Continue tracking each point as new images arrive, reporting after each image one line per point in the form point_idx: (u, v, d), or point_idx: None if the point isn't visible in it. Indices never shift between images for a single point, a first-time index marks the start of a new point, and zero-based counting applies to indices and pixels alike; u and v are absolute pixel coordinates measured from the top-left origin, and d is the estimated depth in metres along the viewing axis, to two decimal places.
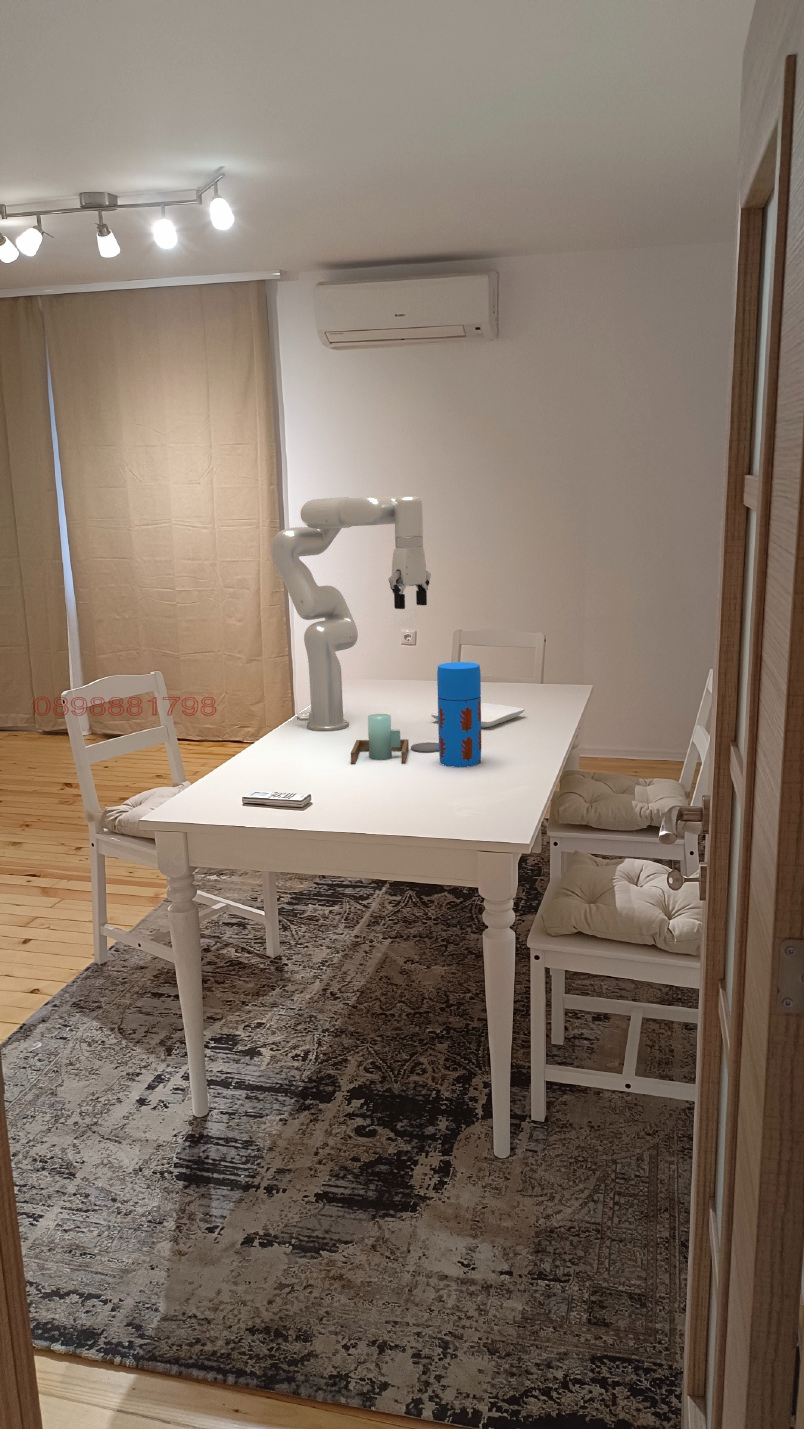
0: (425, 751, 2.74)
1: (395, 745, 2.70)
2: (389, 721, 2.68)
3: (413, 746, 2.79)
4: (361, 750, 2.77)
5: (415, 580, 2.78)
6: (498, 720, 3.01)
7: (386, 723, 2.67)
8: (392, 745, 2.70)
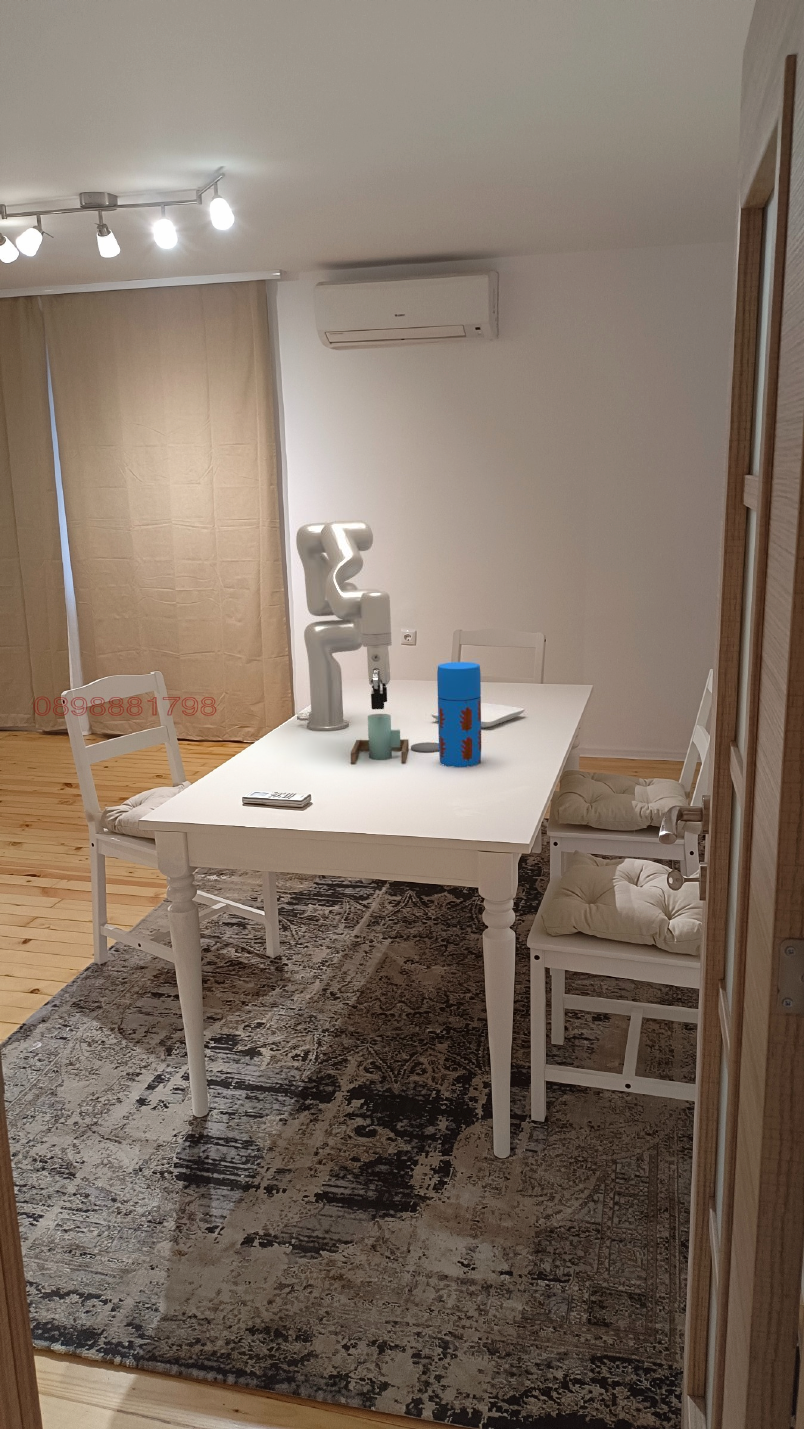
0: (425, 751, 2.74)
1: (395, 745, 2.70)
2: (389, 721, 2.68)
3: (413, 746, 2.79)
4: (361, 750, 2.77)
5: None
6: (498, 720, 3.01)
7: (386, 723, 2.67)
8: (392, 745, 2.70)
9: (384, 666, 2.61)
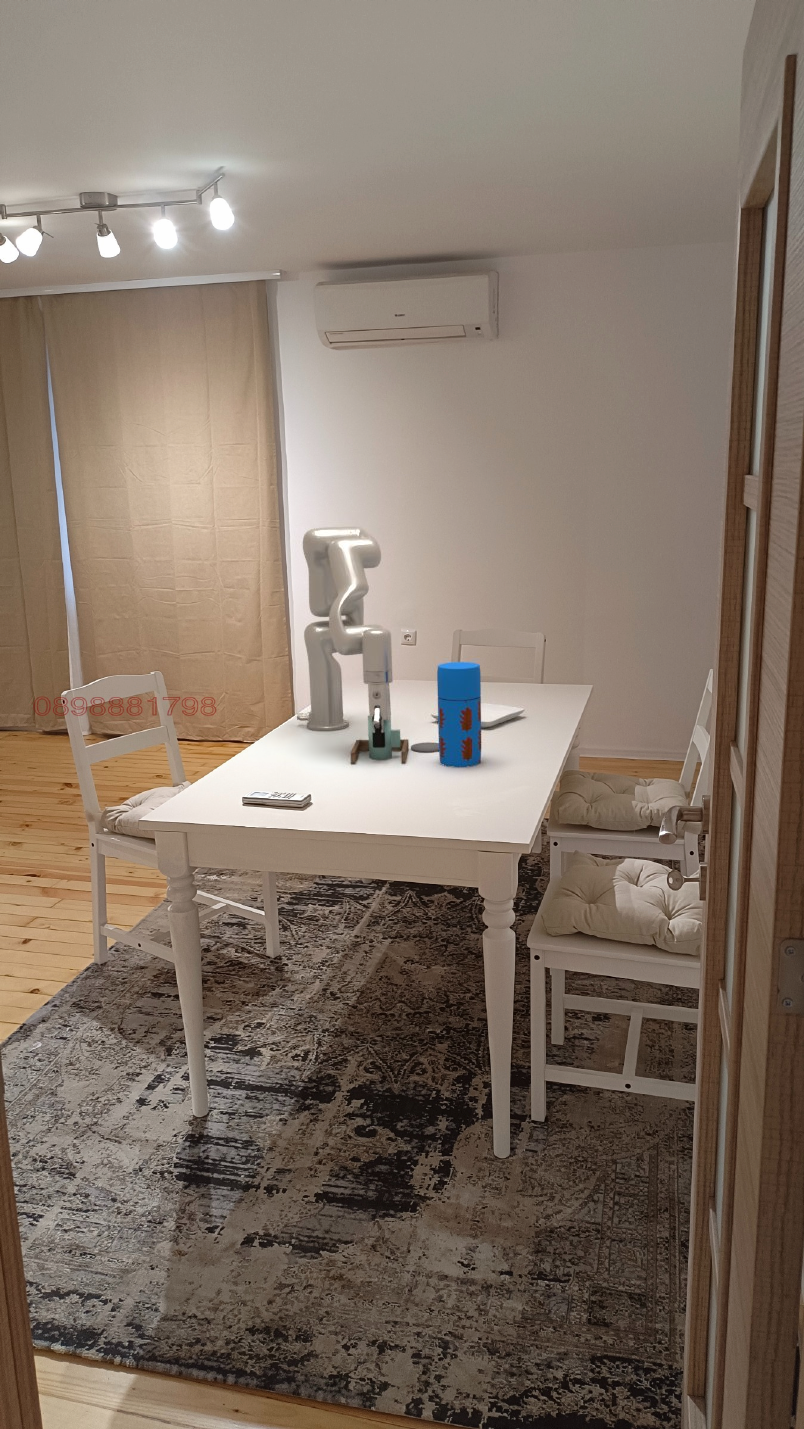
0: (425, 751, 2.74)
1: (395, 745, 2.70)
2: (389, 721, 2.68)
3: (413, 746, 2.79)
4: (361, 750, 2.77)
5: None
6: (498, 720, 3.01)
7: (386, 723, 2.67)
8: (392, 745, 2.70)
9: (385, 703, 2.63)
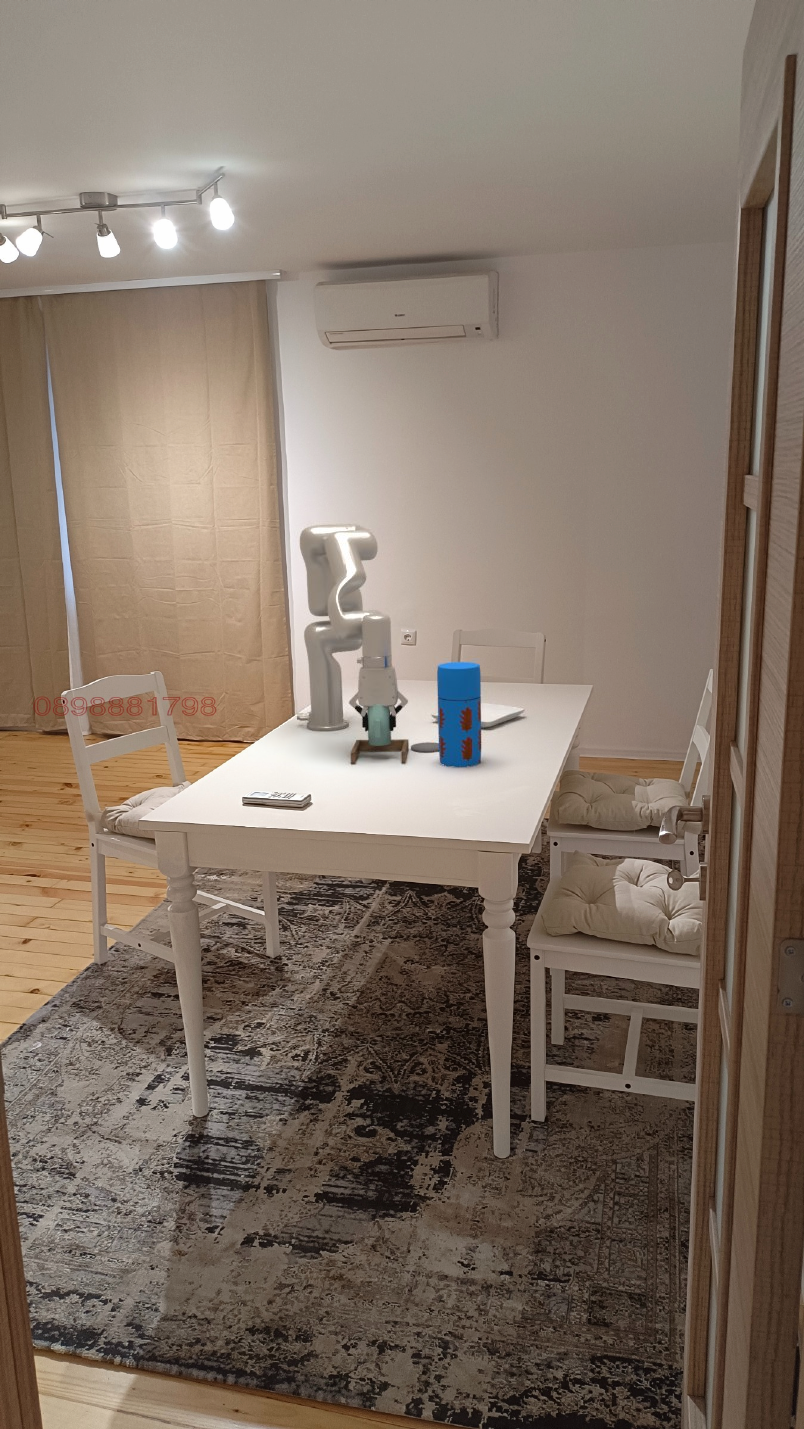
0: (425, 751, 2.74)
1: None
2: (373, 708, 2.66)
3: (413, 746, 2.79)
4: (361, 750, 2.77)
5: None
6: (498, 720, 3.01)
7: (369, 709, 2.67)
8: None
9: (358, 687, 2.66)
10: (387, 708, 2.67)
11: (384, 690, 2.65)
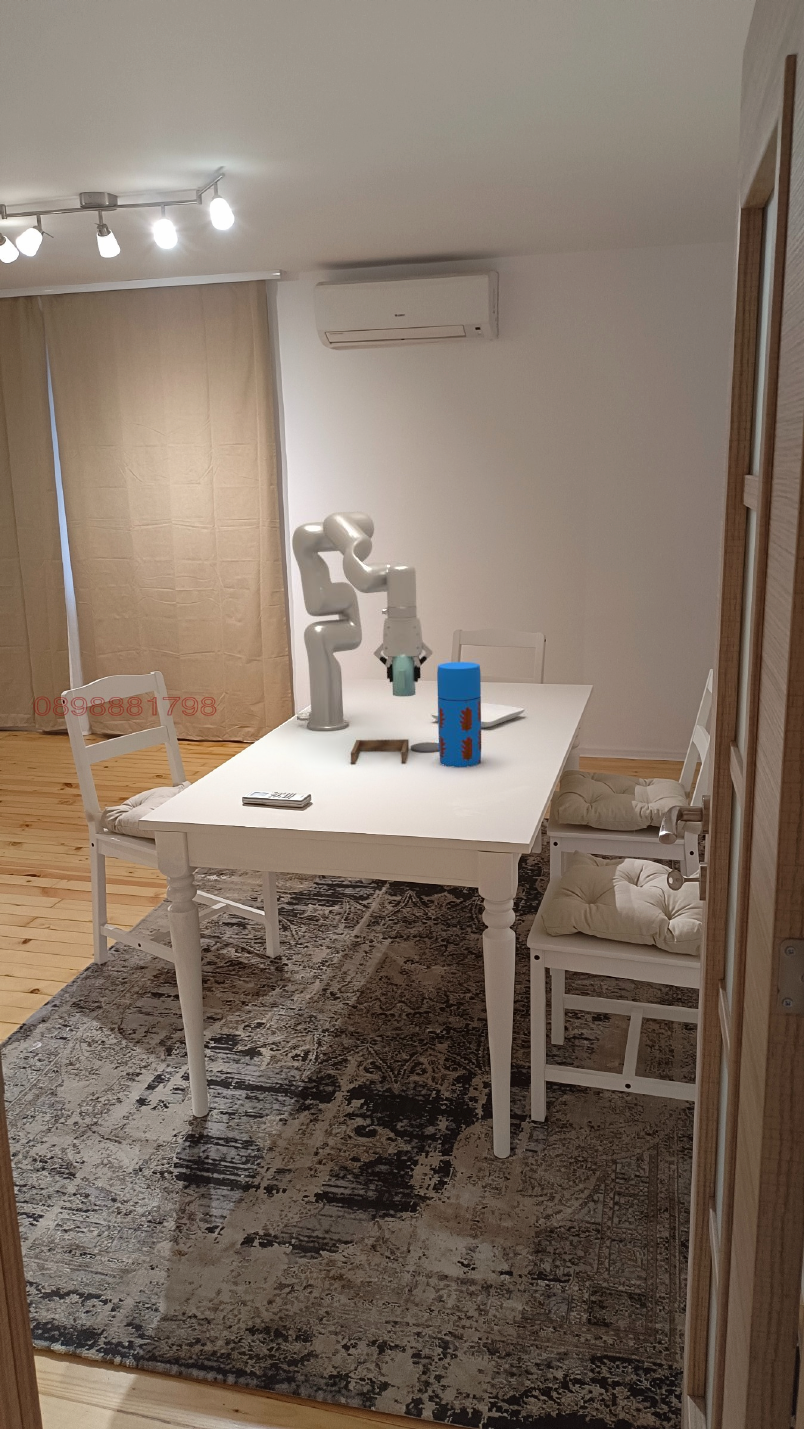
0: (425, 751, 2.74)
1: None
2: (397, 659, 2.67)
3: (413, 746, 2.79)
4: (361, 750, 2.77)
5: None
6: (498, 720, 3.01)
7: (394, 660, 2.68)
8: None
9: (383, 638, 2.67)
10: (411, 659, 2.68)
11: (409, 640, 2.66)
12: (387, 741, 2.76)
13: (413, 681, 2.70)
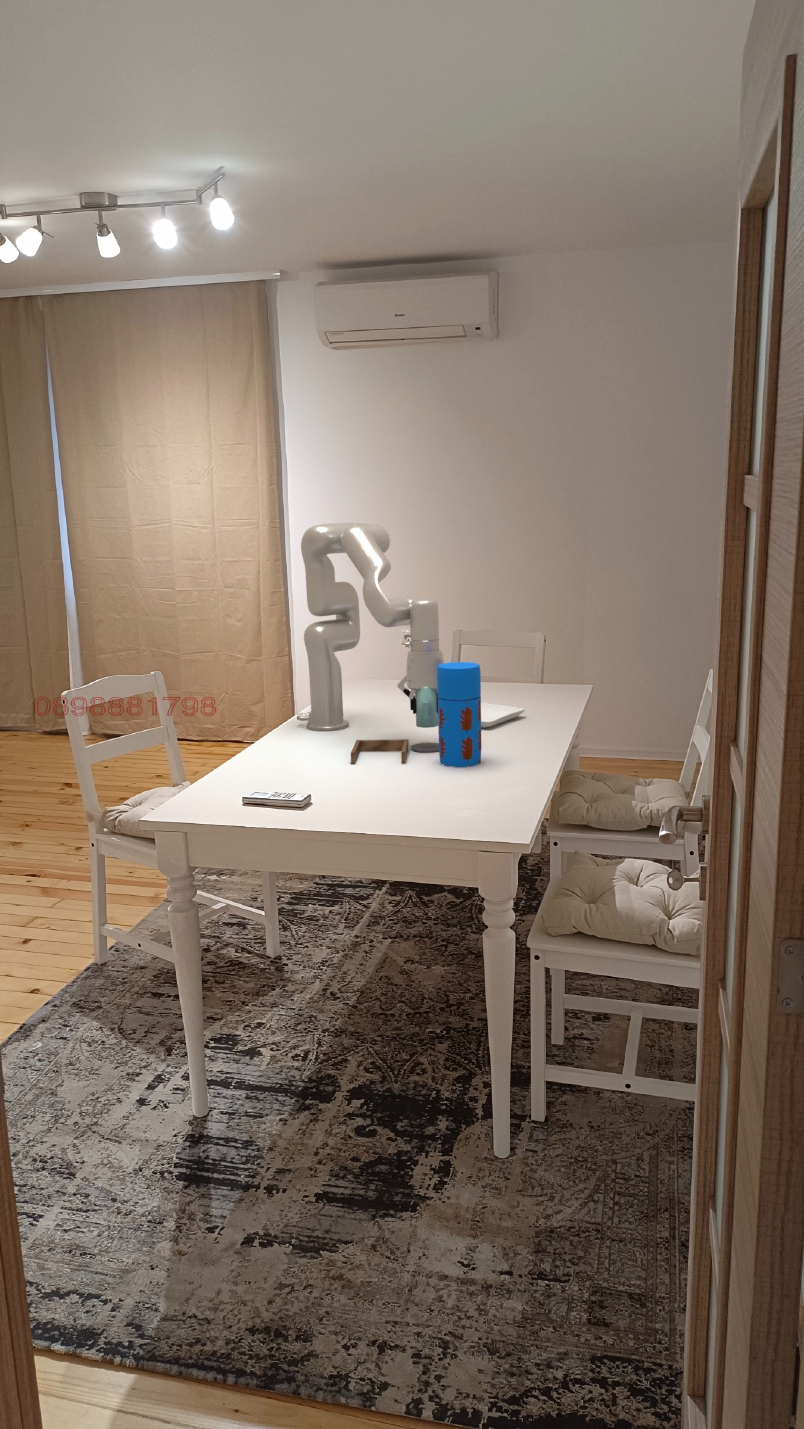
0: (425, 751, 2.74)
1: None
2: (421, 691, 2.73)
3: (413, 746, 2.79)
4: (361, 750, 2.77)
5: None
6: (498, 720, 3.01)
7: (417, 692, 2.73)
8: (423, 715, 2.73)
9: (407, 670, 2.72)
10: (435, 691, 2.73)
11: (432, 673, 2.71)
12: (387, 741, 2.76)
13: (436, 712, 2.75)
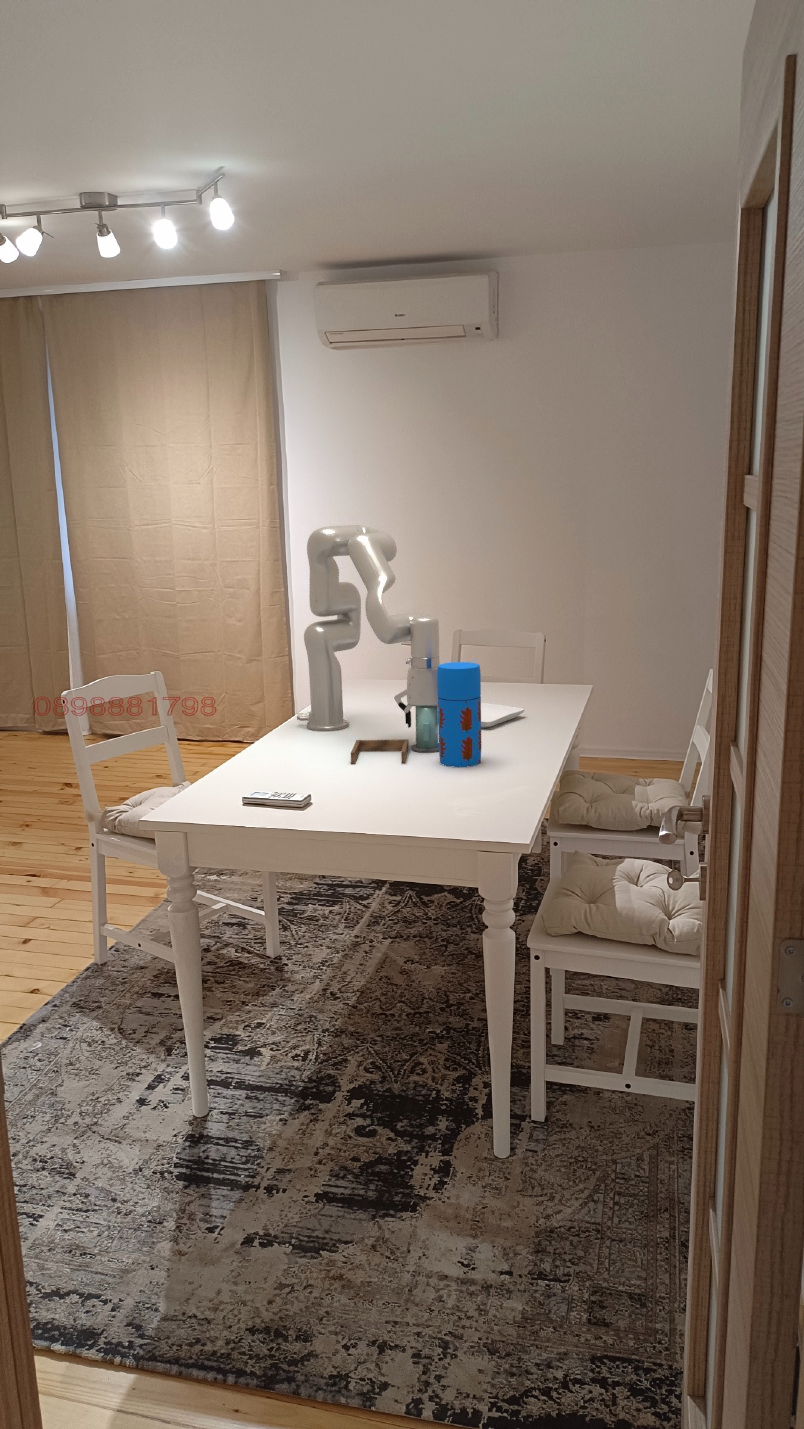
0: (425, 751, 2.74)
1: None
2: (422, 712, 2.74)
3: (413, 746, 2.79)
4: (361, 750, 2.77)
5: None
6: (498, 720, 3.01)
7: (418, 713, 2.75)
8: (423, 737, 2.75)
9: (407, 687, 2.73)
10: (435, 712, 2.75)
11: (432, 690, 2.72)
12: (387, 741, 2.76)
13: (436, 734, 2.76)
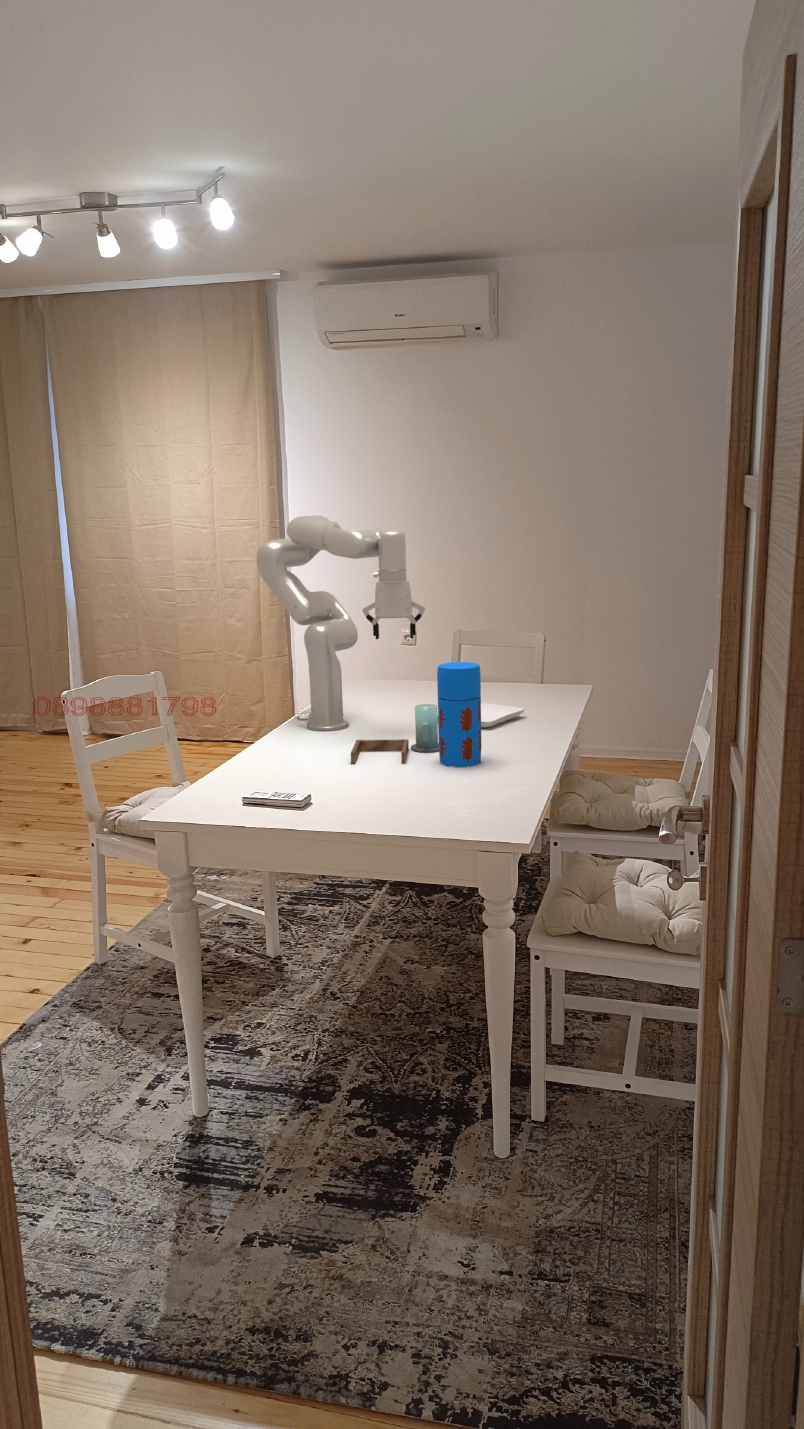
0: (425, 751, 2.74)
1: None
2: (421, 712, 2.74)
3: (413, 746, 2.79)
4: (361, 750, 2.77)
5: None
6: (498, 720, 3.01)
7: (417, 713, 2.75)
8: None
9: (375, 600, 2.82)
10: (434, 712, 2.75)
11: (399, 602, 2.82)
12: (387, 741, 2.76)
13: (436, 734, 2.76)
